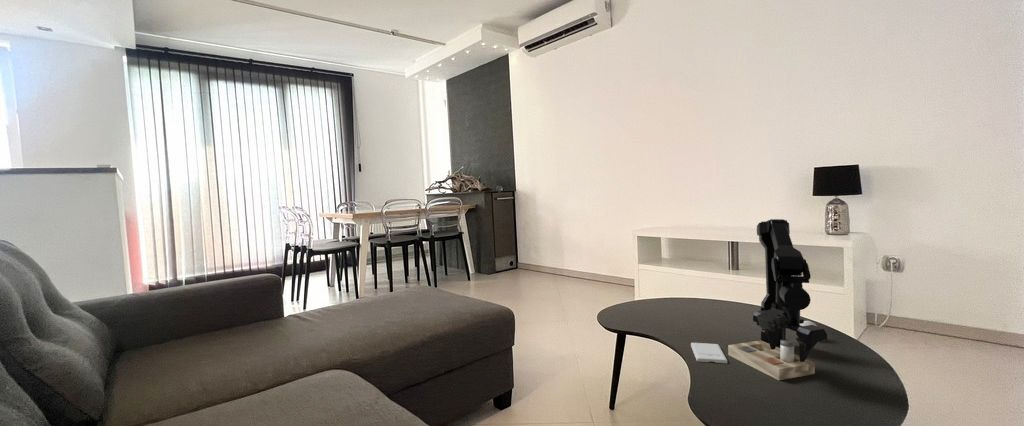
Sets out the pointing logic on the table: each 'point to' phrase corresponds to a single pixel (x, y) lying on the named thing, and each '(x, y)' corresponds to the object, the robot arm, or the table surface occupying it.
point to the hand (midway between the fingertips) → (787, 355)
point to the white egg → (808, 323)
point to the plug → (787, 350)
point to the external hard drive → (708, 353)
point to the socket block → (770, 360)
